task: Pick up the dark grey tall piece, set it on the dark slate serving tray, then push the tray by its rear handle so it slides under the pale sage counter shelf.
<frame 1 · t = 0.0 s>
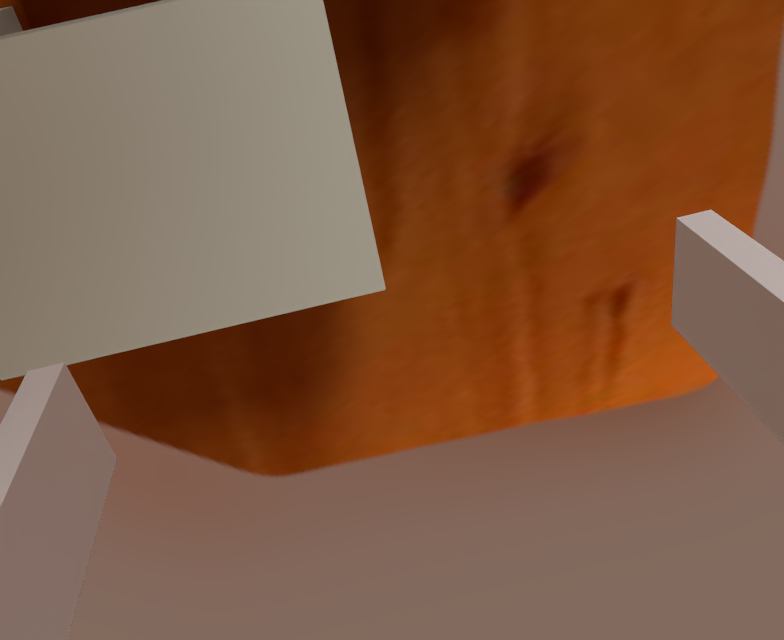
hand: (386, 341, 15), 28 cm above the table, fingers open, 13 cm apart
counter: (185, 95, 38), on the table
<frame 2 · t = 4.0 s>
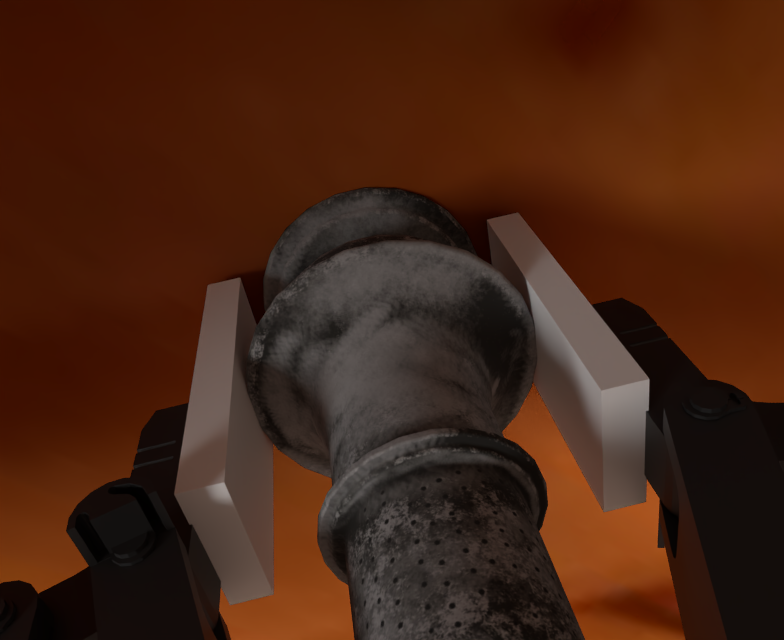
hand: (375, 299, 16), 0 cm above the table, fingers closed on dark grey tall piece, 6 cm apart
dark grey tall piece: (372, 286, 17), on the table, touching gripper
when the fingers open (3 cm above the table, at t = 8.1 s): dark grey tall piece drops 1 cm, resting on tray.
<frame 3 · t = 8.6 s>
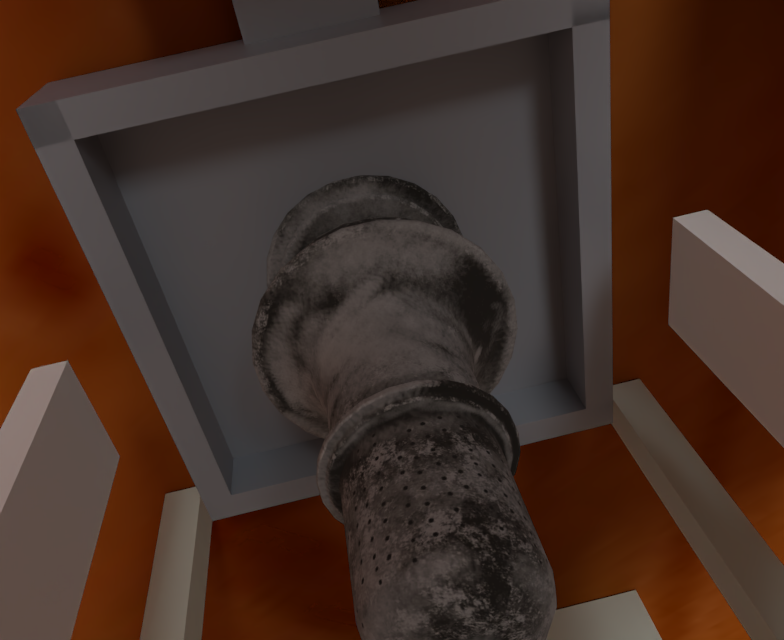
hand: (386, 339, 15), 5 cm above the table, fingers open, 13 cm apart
counter: (432, 553, 26), on the table
dark grey tall piece: (367, 268, 18), point 1 cm above the table, touching tray
tray: (352, 199, 16), point 2 cm above the table, slide at 0.2 cm, touching dark grey tall piece
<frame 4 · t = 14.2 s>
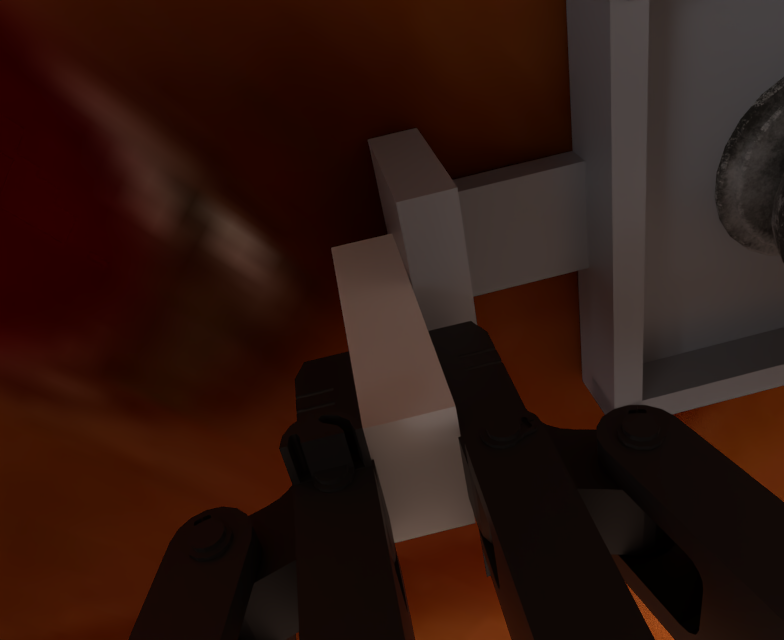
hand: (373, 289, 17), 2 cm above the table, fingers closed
tray: (746, 202, 17), point 2 cm above the table, slide at 1.4 cm, touching gripper, dark grey tall piece
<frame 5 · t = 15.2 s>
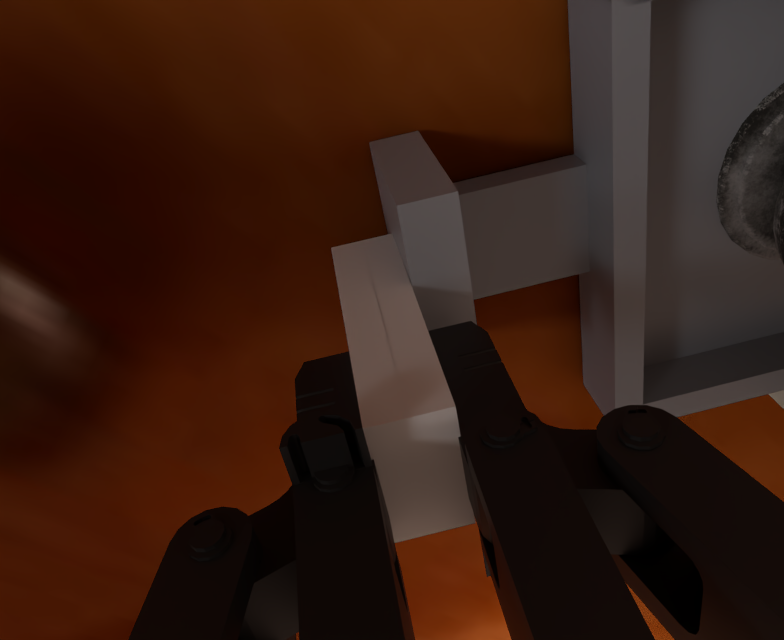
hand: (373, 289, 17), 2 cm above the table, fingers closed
tray: (747, 206, 17), point 2 cm above the table, slide at 7.0 cm, touching gripper, dark grey tall piece
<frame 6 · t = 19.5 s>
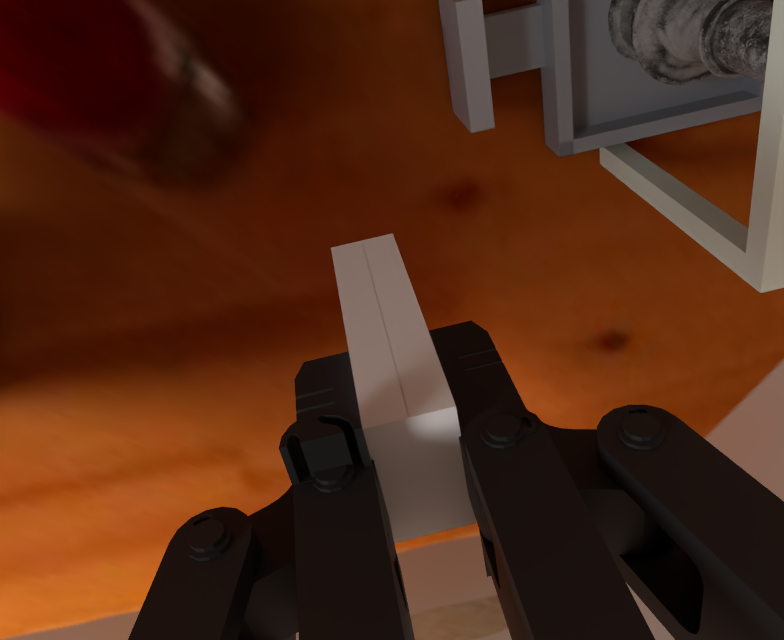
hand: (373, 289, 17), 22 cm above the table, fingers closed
dark grey tall piece: (655, 10, 36), point 1 cm above the table, touching tray
tray: (619, 25, 34), point 2 cm above the table, slide at 9.7 cm, touching dark grey tall piece
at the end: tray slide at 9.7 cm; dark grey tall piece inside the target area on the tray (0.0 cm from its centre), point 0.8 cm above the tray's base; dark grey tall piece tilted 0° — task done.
